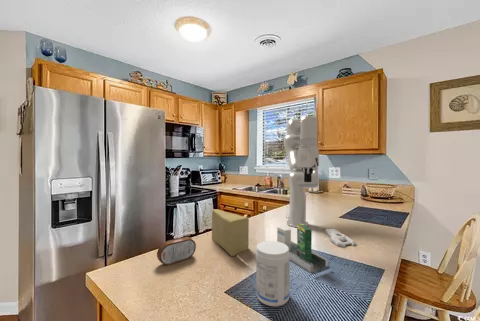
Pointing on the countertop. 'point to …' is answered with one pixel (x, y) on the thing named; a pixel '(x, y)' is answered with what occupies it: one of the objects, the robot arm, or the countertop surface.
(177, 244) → the tin
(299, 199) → the robot arm
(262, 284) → the supplement tub
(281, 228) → the small white carton
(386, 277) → the countertop surface
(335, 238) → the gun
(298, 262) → the rail
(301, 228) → the coffee box
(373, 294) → the countertop surface
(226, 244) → the cheese
